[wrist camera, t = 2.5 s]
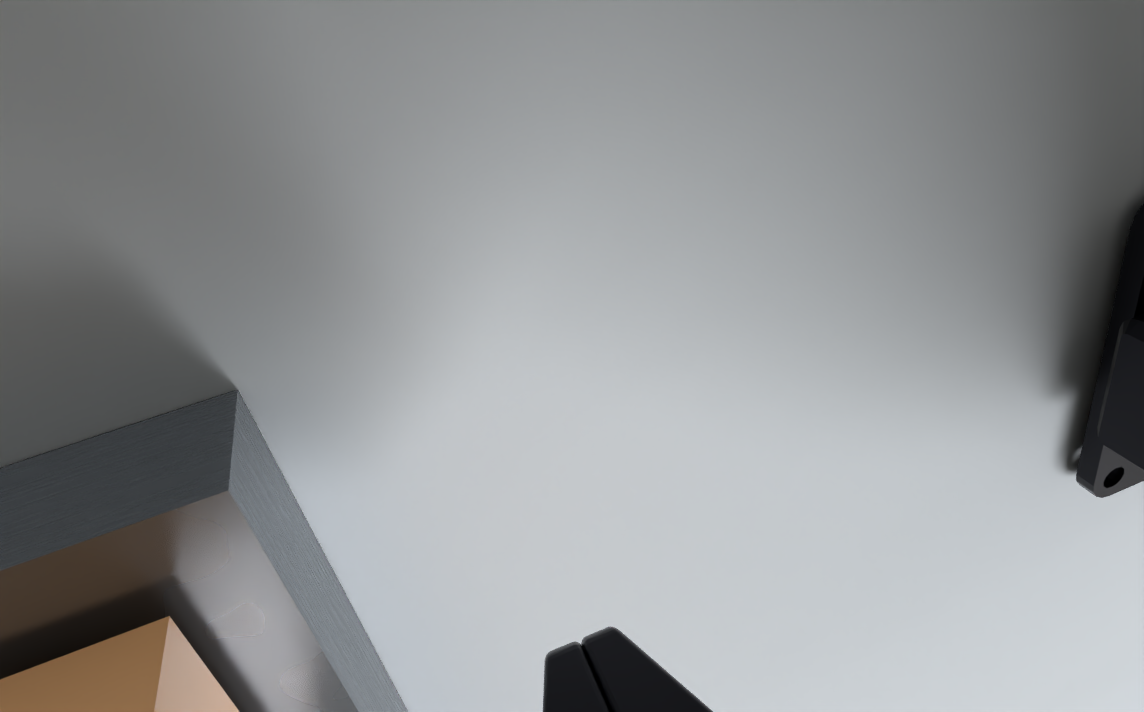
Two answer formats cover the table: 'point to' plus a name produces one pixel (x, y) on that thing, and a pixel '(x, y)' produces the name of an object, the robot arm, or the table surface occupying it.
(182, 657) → the slider orange
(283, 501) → the panel
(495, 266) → the table surface
